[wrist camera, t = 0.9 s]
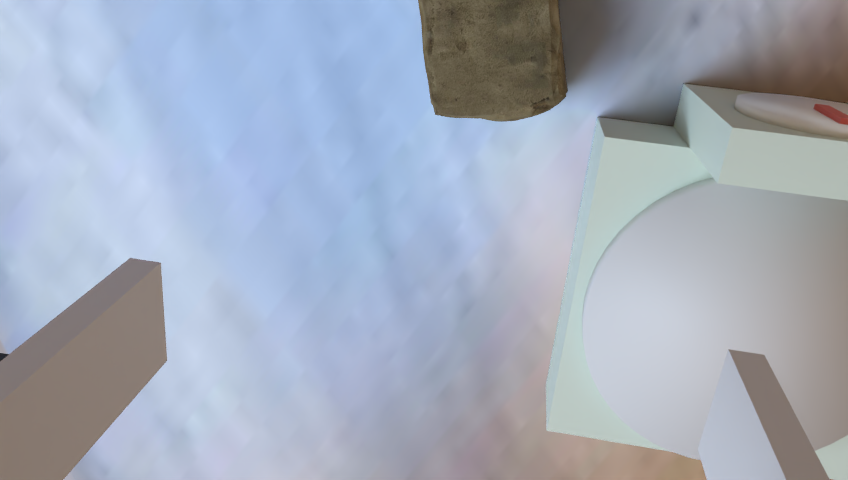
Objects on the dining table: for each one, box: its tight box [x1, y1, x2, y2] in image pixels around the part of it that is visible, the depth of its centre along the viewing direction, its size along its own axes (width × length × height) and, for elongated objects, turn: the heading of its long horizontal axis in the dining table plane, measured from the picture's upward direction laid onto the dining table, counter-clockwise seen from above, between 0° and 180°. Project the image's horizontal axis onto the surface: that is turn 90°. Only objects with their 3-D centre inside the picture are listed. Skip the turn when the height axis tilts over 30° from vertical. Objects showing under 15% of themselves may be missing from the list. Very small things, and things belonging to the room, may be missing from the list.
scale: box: [546, 83, 848, 480], centre depth 31 cm, size 18×15×9 cm
